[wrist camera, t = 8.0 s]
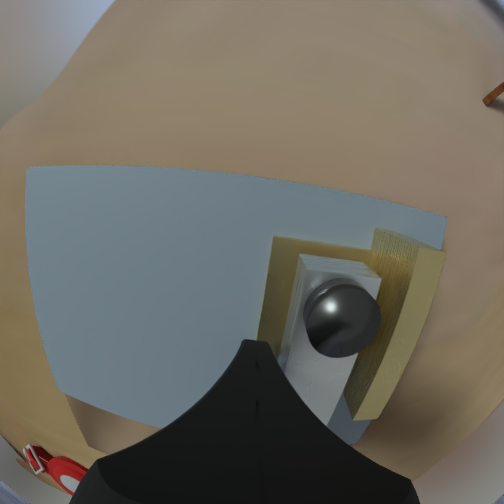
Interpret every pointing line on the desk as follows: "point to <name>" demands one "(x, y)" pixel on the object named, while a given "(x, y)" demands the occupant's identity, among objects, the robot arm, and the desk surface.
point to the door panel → (173, 274)
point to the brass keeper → (388, 298)
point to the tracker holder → (56, 467)
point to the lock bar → (327, 328)
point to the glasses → (494, 94)
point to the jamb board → (108, 427)
